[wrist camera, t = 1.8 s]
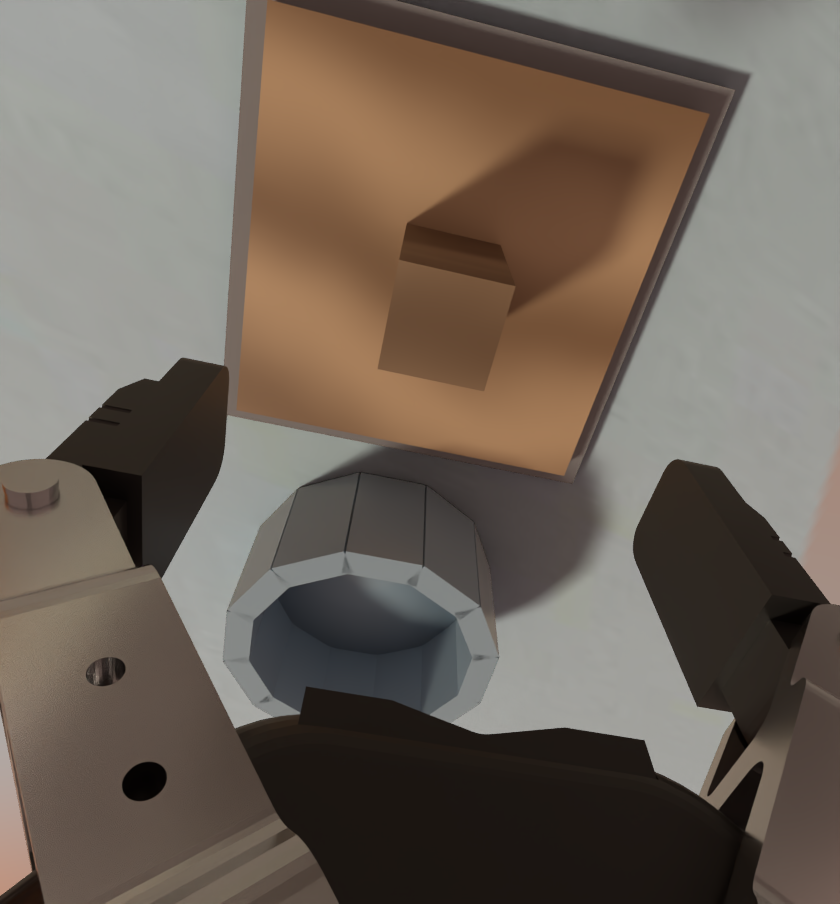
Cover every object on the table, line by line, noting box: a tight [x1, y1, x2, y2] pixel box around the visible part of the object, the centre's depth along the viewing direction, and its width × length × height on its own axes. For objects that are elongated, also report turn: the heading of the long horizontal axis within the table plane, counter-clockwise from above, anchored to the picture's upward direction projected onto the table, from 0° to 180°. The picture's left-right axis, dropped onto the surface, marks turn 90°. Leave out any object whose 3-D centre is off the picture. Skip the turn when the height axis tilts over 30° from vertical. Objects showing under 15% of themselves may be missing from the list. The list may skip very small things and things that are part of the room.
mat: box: [224, 0, 735, 484], centre depth 21 cm, size 14×14×1 cm
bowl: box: [223, 473, 499, 723], centre depth 27 cm, size 10×10×5 cm
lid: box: [236, 0, 710, 476], centre depth 19 cm, size 12×12×5 cm
